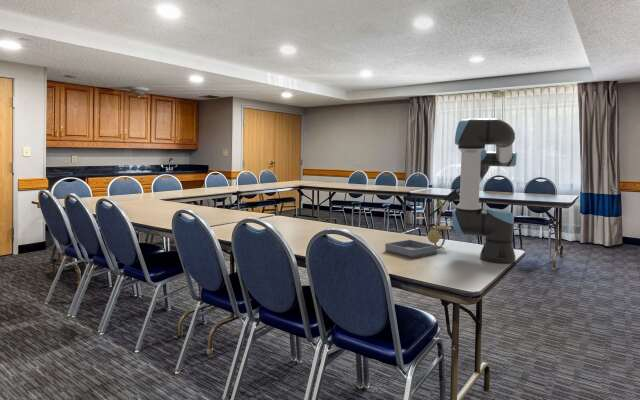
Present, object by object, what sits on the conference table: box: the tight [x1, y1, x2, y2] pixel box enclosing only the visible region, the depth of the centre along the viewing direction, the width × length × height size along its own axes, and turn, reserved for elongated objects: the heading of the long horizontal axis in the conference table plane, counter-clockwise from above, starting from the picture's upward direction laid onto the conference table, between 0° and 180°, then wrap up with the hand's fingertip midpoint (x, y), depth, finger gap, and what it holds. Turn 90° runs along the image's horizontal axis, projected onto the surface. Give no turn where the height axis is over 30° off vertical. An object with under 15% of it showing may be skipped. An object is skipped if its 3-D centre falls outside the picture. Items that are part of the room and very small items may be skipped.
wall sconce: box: [426, 199, 452, 249], centre depth 220 cm, size 14×10×25 cm
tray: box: [384, 239, 438, 259], centre depth 210 cm, size 17×18×4 cm
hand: (453, 212), depth 226 cm, fingers open, 13 cm apart
